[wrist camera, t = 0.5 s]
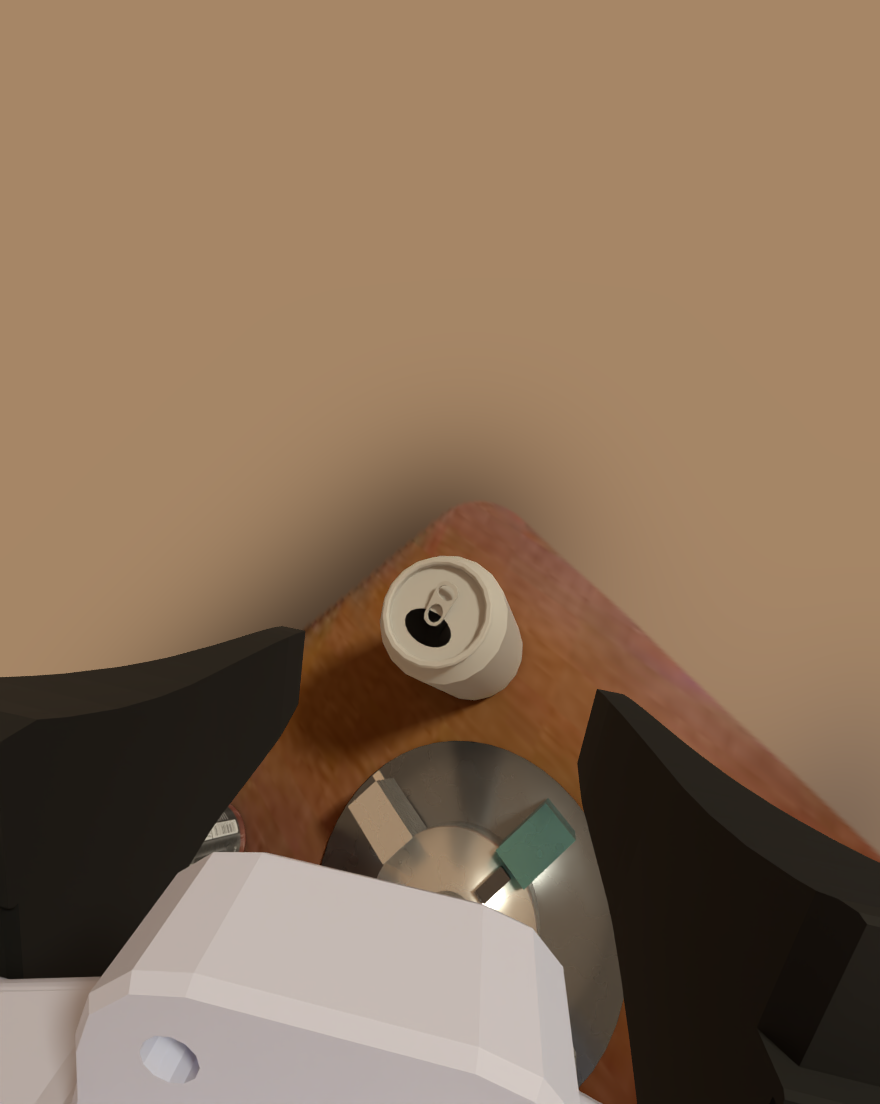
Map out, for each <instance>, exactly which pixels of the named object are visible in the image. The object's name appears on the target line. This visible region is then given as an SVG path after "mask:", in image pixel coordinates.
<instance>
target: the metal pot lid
mask: <svg viewBox="0 0 880 1104" xmlns="http://www.w3.org/2000/svg"><path fill="white" fill-rule="evenodd" d="M348 807H349V809H350V811H351V812H352V814H353V816H354V817H355V819H356V821H357V822H358V824H359V826H360V827H361V829H362V831H363V832H364V834H365V836H366V837H367V839H368V841H369V842H370V844H371V846H372V847H373V849H374V851H375V852H376V854H377V856H378V857H379V859H380V861H381V862H382V864H384V865H383V867H382V869H381V870H380V872H379V874H378V877H377V879H381V880H385V881H389V882H393V883H397V884H402V885H406V886H410V887H414V888H419V889H423V890H427V891H431V892H435V893H436V892H439V891H452V892H455V893H458V894H459V895H461V896H462V897H464V898H465V899H466V900H469V901H473V902H478V903H482V904H484V905H486V906H488V907H490V908H492V909H494V910H496V911H499V912H501V913H503V914H505V915H507V916H509V917H511V918H513V919H516V920H518V921H520V922H522V923H524V924H526V925H528V926H529V927H531V928H533V929H534V931H535V932H536V933H537V935H538V936H539V933H540V916H539V908H538V901H537V897H536V893H535V889H534V887H533V884H532V882H533V881H534V880H535V879H536V878H537V877H538V876H539V875H540V874H541V873H542V872H543V871H544V870H545V869H546V868H547V867H548V866H549V865H551V864H552V863H553V862H554V861H555V860H556V859H557V858H558V857H559V856H560V855H561V854H562V853H563V852H564V851H565V850H566V849H567V848H568V847H569V846H570V845H571V844H572V843H574V842H575V841H576V837H575V830H574V829H573V828H572V827H571V826H570V824H569V823H568V822H567V821H566V819H565V818H564V817H563V816H562V814H561V813H560V812H559V811H558V809H557V808H556V807H555V806H554V805H553V803H552V802H551V801H550V800H549V798H547V799H546V800H545V801H544V802H543V803H542V804H541V805H540V806H539V807H538V808H537V809H536V810H534V811H533V812H532V813H531V814H530V815H529V816H528V817H527V818H526V819H525V820H524V821H523V822H522V823H521V824H520V825H519V826H518V827H516V828H515V829H514V830H513V831H512V832H511V833H510V834H509V835H508V836H507V837H506V838H505V839H504V840H503V839H502V838H500V837H499V836H497V835H496V834H495V833H493V832H492V831H490V830H488V829H486V828H484V827H482V826H479V825H477V824H473V823H469V822H463V821H449V822H443V823H439V824H435V825H433V826H431V827H428V828H426V826H425V825H424V823H423V822H422V820H421V819H420V817H419V816H418V814H417V813H416V811H415V810H414V808H413V807H412V805H411V804H410V802H409V801H408V799H407V798H406V796H405V795H404V793H403V792H402V790H401V789H400V787H399V786H398V784H397V783H396V781H395V780H394V778H390V779H384V780H378V781H375V782H374V783H373V784H372V785H371V786H370V787H369V788H368V789H367V790H365V791H364V792H363V793H362V794H361V795H360V796H359V797H358V798H357V799H356V800H354V801H353V802H352V803H351V804H350V805H349V806H348ZM573 1050H574V1048H573ZM574 1058H575V1066H576V1051H575V1050H574ZM576 1074H577V1070H576Z"/></svg>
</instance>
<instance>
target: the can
mask: <svg viewBox="0 0 880 1104" xmlns="http://www.w3.org/2000/svg"><path fill="white" fill-rule="evenodd" d="M380 626H381V634H382V641H383V644H384V646H385V648H386V650H387V652H388V654H389V656H390V658H391V660H392V661H393V662H394V663H395V664H396V665H397V666H398V667H399V668H400V669H401V670H402V671H403V672H404V673H405V674H407V675H409V676H411V677H413V678H415V679H418V680H420V681H422V682H424V683H426V684H428V685H430V686H433V687H435V688H437V689H439V690H441V691H444V692H446V693H448V694H450V695H452V696H455V697H457V698H459V699H468V700H478V699H483V698H487V697H491V696H493V695H494V694H496V693H498V692H499V691H501V690H502V689H504V688H505V687H506V686H507V685H508V684H509V682H510V681H511V680H512V679H513V678H514V677H515V675H516V673H517V670H518V668H519V665H520V663H521V660H522V645H523V644H522V640H521V636H520V632H519V628H518V626H517V624H516V621H515V619H514V616H513V614H512V612H511V609H510V607H509V605H508V602H507V600H506V597H505V595H504V593H503V591H502V589H501V587H500V586H499V584H498V583H497V581H496V580H495V578H494V577H493V575H492V574H491V573H489V572H488V571H487V570H485V569H484V568H483V567H482V566H480V565H479V564H478V563H476V562H473V561H470V560H467V559H465V558H462V557H457V556H438V557H433V558H429V559H426V560H422V561H418V562H417V563H415V564H413V565H412V566H410V567H408V568H407V569H405V570H404V571H403V572H402V573H401V574H400V575H399V576H398V577H397V578H396V579H395V580H394V582H393V583H392V584H391V586H390V588H389V590H388V592H387V594H386V596H385V598H384V603H383V608H382V614H381V620H380Z"/></svg>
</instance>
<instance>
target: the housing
mask: <svg viewBox="0 0 880 1104" xmlns="http://www.w3.org/2000/svg"><path fill="white" fill-rule="evenodd" d="M390 778H394V780H395V781H396V783H397V784H398V786H399V787H400V789H401V790H402V792H403V793H404V795H405V796H406V798H407V799H408V801H409V802H410V804H411V805H412V807H413V808H414V810H415V811H416V813H417V814H418V816H419V817H420V819H421V820H422V822H423V823H424V825H425V826H426V828H428V827H431V826H433V825H435V824H439V823H443V822H449V821H463V822H469V823H473V824H477V825H479V826H482V827H484V828H486V829H488V830H490V831H492V832H493V833H495V834H496V835H497V836H499V837H500V838H502V839H503V840H504V839H505V838H506V837H507V836H508V835H509V834H510V833H511V832H512V831H513V830H514V829H515V828H516V827H518V826H519V825H520V824H521V823H522V822H523V821H524V820H525V819H526V818H527V817H528V816H529V815H530V814H531V813H532V812H533V811H534V810H536V809H537V808H538V807H539V806H540V805H541V804H542V803H543V802H544V801H545V800H546V799H547V798H549V800H550V801H551V802H552V803H553V805H554V806H555V807H556V808H557V809H558V811H559V812H560V813H561V814H562V816H563V817H564V818H565V819H566V821H567V822H568V823H569V824H570V826H571V827H572V828H573V829H574V830H575V837H576V841H575V842H574V843H572V844H571V845H570V846H569V847H568V848H567V849H566V850H565V851H564V852H563V853H562V854H561V855H560V856H559V857H558V858H557V859H556V860H555V861H554V862H553V863H552V864H551V865H549V866H548V867H547V868H546V869H545V870H544V871H543V872H542V873H541V874H540V875H539V876H538V877H537V878H536V879H535V880H534V881H533V882H532V884H533V887H534V889H535V893H536V897H537V901H538V908H539V916H540V933H539V937H540V938H541V940H542V941H543V942H544V943H545V945H546V946H547V947H548V949H549V950H550V951H551V952H552V954H553V955H554V956H555V957H556V959H557V960H558V961H559V963H560V964H561V965H562V966H563V970H564V978H565V986H566V994H567V1002H568V1010H569V1018H570V1026H571V1034H572V1042H573V1048H574V1050H575V1051H576V1070H577V1082H578V1088H579V1087H580V1085H581V1084H582V1083H583V1082H584V1081H585V1079H586V1078H587V1077H588V1076H589V1075H590V1074H591V1072H592V1071H593V1070H594V1068H595V1066H596V1065H597V1063H598V1061H599V1060H600V1058H601V1056H602V1055H603V1053H604V1051H605V1050H606V1048H607V1045H608V1043H609V1041H610V1038H611V1036H612V1033H613V1031H614V1029H615V1026H616V1024H617V1020H618V1016H619V1013H620V1009H621V1005H622V1002H623V998H624V996H623V989H622V981H621V975H620V969H619V962H618V956H617V950H616V944H615V937H614V931H613V925H612V920H611V916H610V911H609V906H608V902H607V898H606V894H605V890H604V886H603V883H602V879H601V875H600V871H599V867H598V863H597V860H596V856H595V852H594V848H593V844H592V841H591V837H590V833H589V829H588V825H587V821H586V817H585V814H584V812H583V811H582V810H581V808H580V807H579V806H578V804H577V803H576V801H575V800H574V799H573V798H572V797H571V796H570V795H569V794H568V793H567V792H566V791H565V790H564V789H563V787H562V786H561V785H560V784H559V783H557V782H556V781H555V780H554V779H553V778H551V777H550V776H549V775H548V774H547V773H545V772H544V771H543V770H542V769H540V768H539V767H537V766H535V765H534V764H532V763H531V762H529V761H528V760H526V759H524V758H522V757H520V756H518V755H516V754H514V753H512V752H510V751H507V750H504V749H501V748H498V747H495V746H492V745H488V744H482V743H477V742H469V741H448V742H439V743H433V744H429V745H426V746H422V747H418V748H416V749H413V750H411V751H409V752H406V753H404V754H402V755H400V756H398V757H397V758H395V759H393V760H392V761H390V762H388V763H387V764H385V765H384V766H383V767H382V768H380V769H379V770H378V771H377V772H375V773H374V774H373V775H372V776H371V777H370V778H369V779H368V780H367V781H366V782H365V783H364V784H363V785H362V786H361V787H360V788H359V789H358V791H357V792H356V793H355V795H354V796H353V797H352V799H351V800H350V801H349V803H348V804H347V806H346V807H345V809H344V811H343V812H342V814H341V816H340V818H339V819H338V821H337V823H336V825H335V828H334V830H333V832H332V834H331V837H330V839H329V842H328V845H327V848H326V851H325V854H324V857H323V860H322V866H326V867H330V868H334V869H338V870H343V871H347V872H351V873H355V874H360V875H364V876H368V877H372V878H376V879H377V877H378V874H379V872H380V870H381V869H382V867H383V865H384V864H382V862H381V861H380V859H379V857H378V856H377V854H376V852H375V851H374V849H373V847H372V846H371V844H370V842H369V841H368V839H367V837H366V836H365V834H364V832H363V831H362V829H361V827H360V826H359V824H358V822H357V821H356V819H355V817H354V816H353V814H352V812H351V811H350V809H349V807H348V806H349V805H350V804H351V803H352V802H353V801H354V800H356V799H357V798H358V797H359V796H360V795H361V794H362V793H363V792H364V791H365V790H367V789H368V788H369V787H370V786H371V785H372V784H373V783H374V782H375V781H378V780H384V779H390ZM436 893H440V894H444V895H448V896H452V897H457V898H461V899H465V898H464V897H462V896H461V895H459V894H458V893H455V892H452V891H439V892H436ZM465 900H466V899H465Z"/></svg>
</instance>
